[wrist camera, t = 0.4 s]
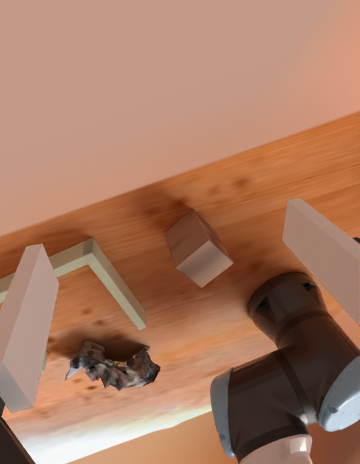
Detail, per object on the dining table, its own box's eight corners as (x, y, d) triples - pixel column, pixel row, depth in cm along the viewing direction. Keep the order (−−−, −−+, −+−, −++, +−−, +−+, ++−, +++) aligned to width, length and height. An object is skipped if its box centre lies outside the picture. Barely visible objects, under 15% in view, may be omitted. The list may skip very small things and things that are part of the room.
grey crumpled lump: (96, 331, 52) (152, 396, 52) (117, 309, 62) (164, 362, 62) (52, 369, 54) (106, 431, 54) (80, 341, 64) (125, 393, 64)
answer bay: (144, 310, 56) (147, 327, 53) (40, 355, 57) (36, 375, 53) (92, 237, 45) (91, 252, 42) (-35, 294, 46) (-46, 314, 42)
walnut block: (214, 230, 49) (233, 263, 42) (187, 252, 51) (201, 288, 43) (192, 208, 46) (208, 240, 39) (164, 232, 48) (175, 267, 40)
